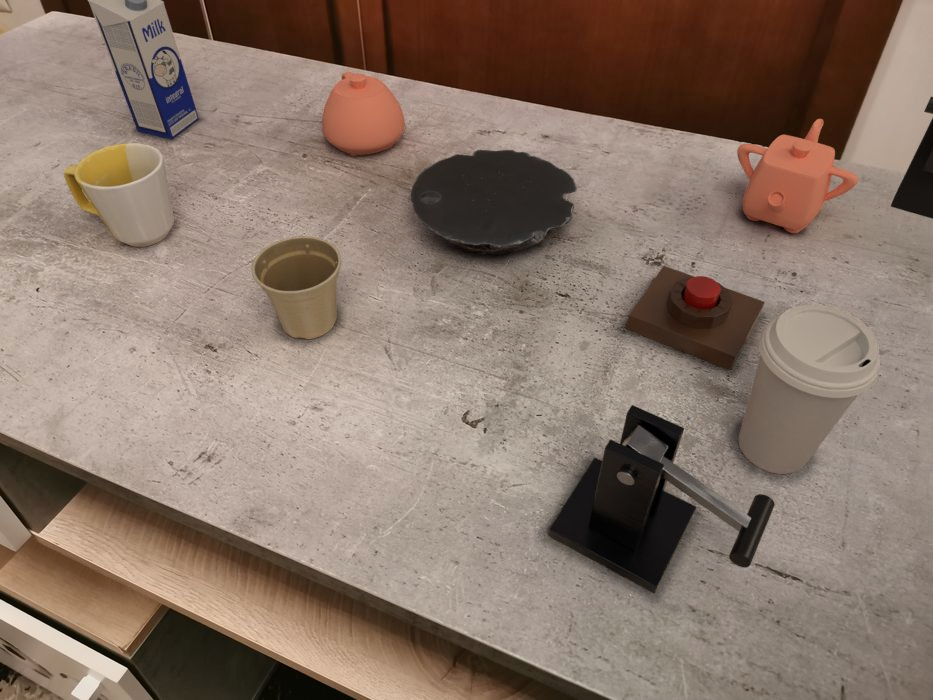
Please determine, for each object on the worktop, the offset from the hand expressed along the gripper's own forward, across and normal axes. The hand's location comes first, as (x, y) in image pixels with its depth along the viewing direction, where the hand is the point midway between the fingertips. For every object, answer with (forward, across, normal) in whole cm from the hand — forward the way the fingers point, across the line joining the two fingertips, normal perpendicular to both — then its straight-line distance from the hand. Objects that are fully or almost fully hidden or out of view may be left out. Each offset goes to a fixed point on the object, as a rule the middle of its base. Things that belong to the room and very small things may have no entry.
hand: (915, 206), depth 46 cm
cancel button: (+27, -16, -14) cm, 34 cm away
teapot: (+31, -42, -12) cm, 53 cm away
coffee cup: (+31, -4, -1) cm, 31 cm away
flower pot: (+31, +7, -51) cm, 60 cm away
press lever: (+22, +12, -6) cm, 26 cm away
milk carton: (+31, -15, -100) cm, 106 cm away
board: (+31, -20, -43) cm, 56 cm away
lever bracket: (+30, +12, -10) cm, 34 cm away
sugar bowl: (+31, -28, -71) cm, 82 cm away
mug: (+31, +6, -82) cm, 88 cm away
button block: (+30, -16, -14) cm, 37 cm away
